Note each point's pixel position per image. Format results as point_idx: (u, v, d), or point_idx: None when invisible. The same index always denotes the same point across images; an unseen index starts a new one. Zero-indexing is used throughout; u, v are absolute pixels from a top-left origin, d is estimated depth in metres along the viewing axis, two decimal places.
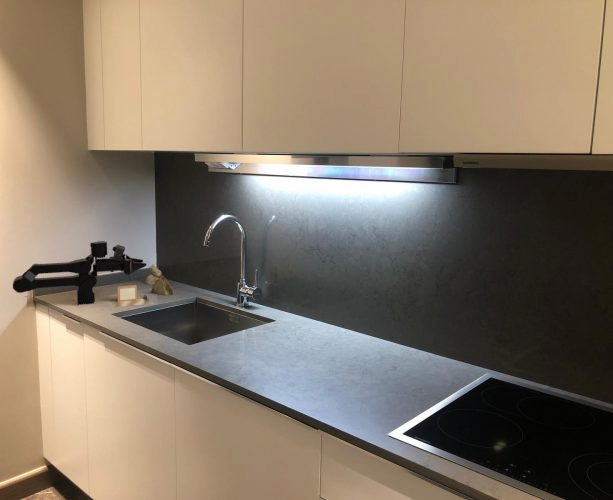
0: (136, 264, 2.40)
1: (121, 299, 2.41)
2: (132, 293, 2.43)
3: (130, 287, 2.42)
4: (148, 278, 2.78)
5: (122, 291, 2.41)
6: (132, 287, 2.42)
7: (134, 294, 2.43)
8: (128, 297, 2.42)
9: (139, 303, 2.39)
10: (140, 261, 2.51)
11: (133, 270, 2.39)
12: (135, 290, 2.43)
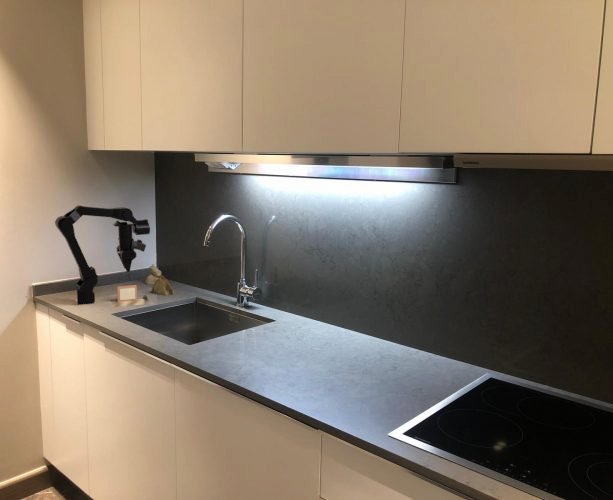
0: (129, 262, 2.42)
1: (121, 299, 2.41)
2: (132, 293, 2.43)
3: (130, 287, 2.42)
4: (148, 278, 2.78)
5: (122, 291, 2.41)
6: (132, 287, 2.42)
7: (134, 294, 2.43)
8: (128, 297, 2.42)
9: (139, 303, 2.39)
10: None
11: (123, 260, 2.40)
12: (135, 290, 2.43)
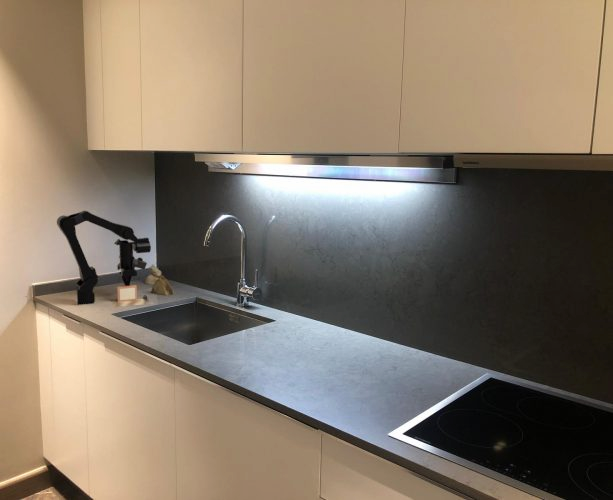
0: (128, 279, 2.46)
1: (121, 299, 2.41)
2: (132, 293, 2.43)
3: (130, 287, 2.42)
4: (148, 278, 2.78)
5: (122, 291, 2.41)
6: (132, 287, 2.42)
7: (134, 294, 2.43)
8: (128, 297, 2.42)
9: (139, 303, 2.39)
10: (127, 285, 2.48)
11: (123, 276, 2.44)
12: (135, 290, 2.43)
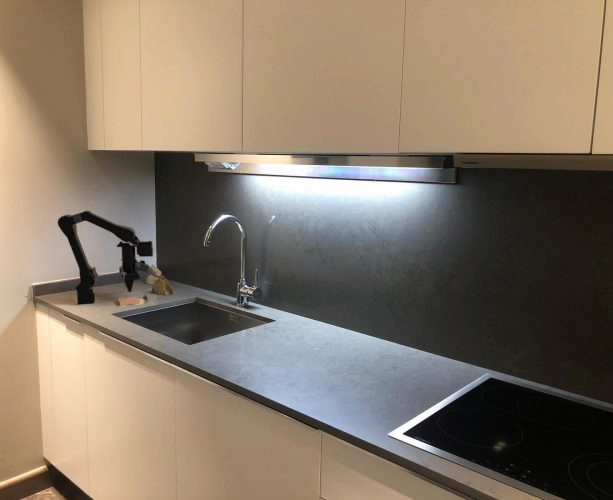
0: (131, 282, 2.40)
1: None
2: None
3: (132, 303, 2.38)
4: (148, 278, 2.78)
5: None
6: (134, 303, 2.38)
7: None
8: None
9: (139, 303, 2.39)
10: None
11: (125, 280, 2.38)
12: None
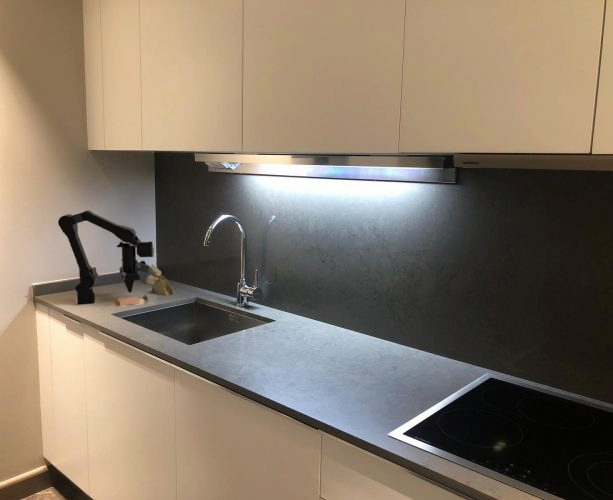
0: (131, 283, 2.39)
1: None
2: None
3: (132, 303, 2.38)
4: (148, 278, 2.78)
5: None
6: (134, 303, 2.38)
7: None
8: None
9: (139, 303, 2.39)
10: None
11: (125, 280, 2.37)
12: None
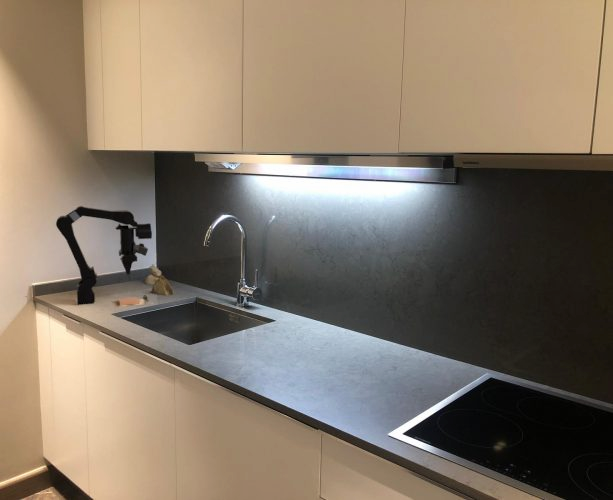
0: (129, 265, 2.42)
1: None
2: None
3: (132, 303, 2.38)
4: (148, 278, 2.78)
5: None
6: (134, 303, 2.38)
7: None
8: None
9: (139, 303, 2.39)
10: None
11: (123, 262, 2.40)
12: None
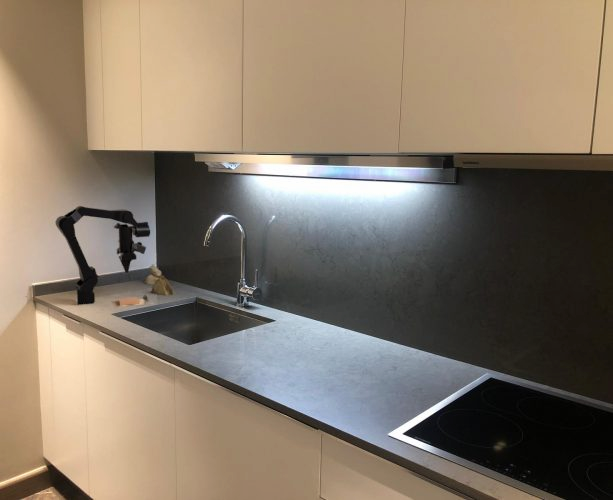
0: (128, 263, 2.46)
1: None
2: None
3: (132, 303, 2.38)
4: (148, 278, 2.78)
5: None
6: (134, 303, 2.38)
7: None
8: None
9: (139, 303, 2.39)
10: None
11: (122, 260, 2.44)
12: None
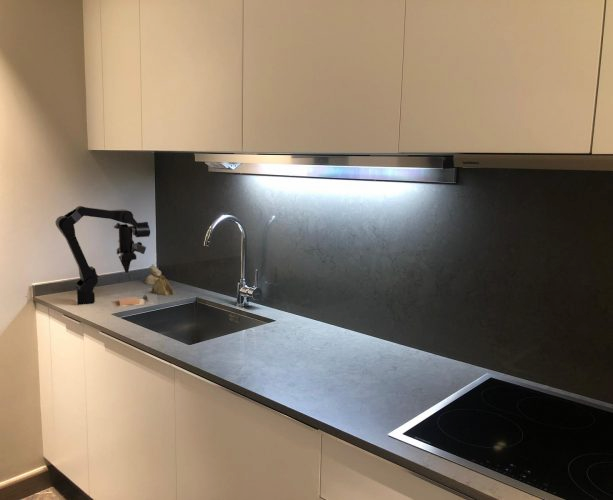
0: (128, 263, 2.46)
1: None
2: None
3: (132, 303, 2.38)
4: (148, 278, 2.78)
5: None
6: (134, 303, 2.38)
7: None
8: None
9: (139, 303, 2.39)
10: None
11: (122, 260, 2.44)
12: None
